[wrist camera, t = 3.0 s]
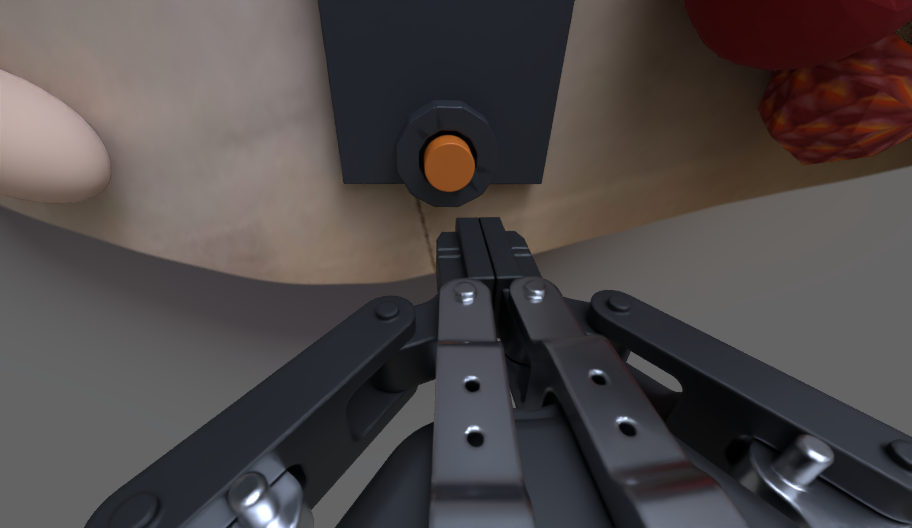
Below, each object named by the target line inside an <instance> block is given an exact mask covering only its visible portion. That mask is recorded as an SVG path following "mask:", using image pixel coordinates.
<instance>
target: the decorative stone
mask: <svg viewBox="0 0 912 528" xmlns="http://www.w3.org/2000/svg"><path fill="white" fill-rule="evenodd" d="M757 110H758V112H759V114H760V116H761V118H762V120H763V122H764V123H765V125H766V127H767V129H768V131H769V133H770V135H771V136H772V137H773V138H774V139H775V140H776V141H777V142H778V143H780V144H781V145H782V146H783V147H784V148H785V149H786V150H787V151H788V152H790V153H791V154H792V155H793V156H794V157H795V158H796V159H797V160H798V161H799V162H801V163H802V164H803V165H810V164H817V163H825V162H833V161H841V160H849V159H857V158H865V157H871V156H873V155H875V154H878V153H880V152H882V151H884V150H886V149H888V148H890V147H893V146H895V145H897V144H899V143H901V142H903V141H905V140H908V139H910V138H912V47H911V46H910V45H909V44H908V43H907V42H906V41H904V40H903V39H902V38H901V37H900V36H899V35H898V34H896V33H895V32H893V33H891V34H890V35H888V36H887V37H885V38H883V39H882V40H880V41H879V42H877V43H875V44H873V45H870V46H868V47H866V48H864V49H862V50H860V51H858V52H855V53H853V54H851V55H849V56H847V57H845V58H842V59H838V60H835V61H831V62H828V63H824V64H821V65H817V66H814V67H810V68H801V69H790V70H776V71H774V73H773V75H772V77H771V80H770V82H769V84H768V86H767V89H766V91H765V93H764V95H763V98H762V100H761V102H760V104H759V107H758V109H757Z"/></svg>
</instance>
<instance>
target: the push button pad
mask: <svg viewBox="0 0 912 528" xmlns="http://www.w3.org/2000/svg"><path fill="white" fill-rule="evenodd" d="M574 1H575V0H318V4H319V11H320V18H321V25H322V33H323V40H324V47H325V54H326V61H327V68H328V75H329V82H330V90H331V97H332V104H333V111H334V118H335V125H336V132H337V140H338V147H339V154H340V161H341V168H342V175H343V182H344V184H405V186H406V187H407V189H408V190H409V192H410V193H411V194H412V195H413V196H415V197H416V198H418V199H420V200H422V201H424V202H426V203H428V204H430V205H432V206H434V207H459V206H461V205H463V204H465V203H467V202H469V201H471V200H473V199H475V198H477V197H479V196H480V195H482V194H483V193H484V191H485V190H486V188H487V187H488V185H489V184H541V183H542V178H543V172H544V167H545V161H546V156H547V150H548V145H549V139H550V134H551V128H552V122H553V117H554V111H555V106H556V100H557V95H558V89H559V84H560V78H561V73H562V67H563V62H564V56H565V50H566V45H567V39H568V34H569V28H570V23H571V17H572V12H573V6H574ZM442 135H454V136H457V137H459V138H461V139H462V140H464V141H465V142H466V144H467V145H468V147H469V149H470V151H471V154H472V156H473V159H474V163H475V170H474V174H473V177H472V179H471V180H470V182H469V183H468V184H467V185H466V186H465V187H463V188H462V189H460V190H457V191H453V192H446V191H441V190H439V189H437V188H435V187H434V186H432V185H431V184H430V183H429V181H428V180H427V178H426V175H425V170H424V153H425V150H426V148H427V146H428V145H429V143H430V142H431V141H432V140H434V139H435V138H437V137H439V136H442Z"/></svg>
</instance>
